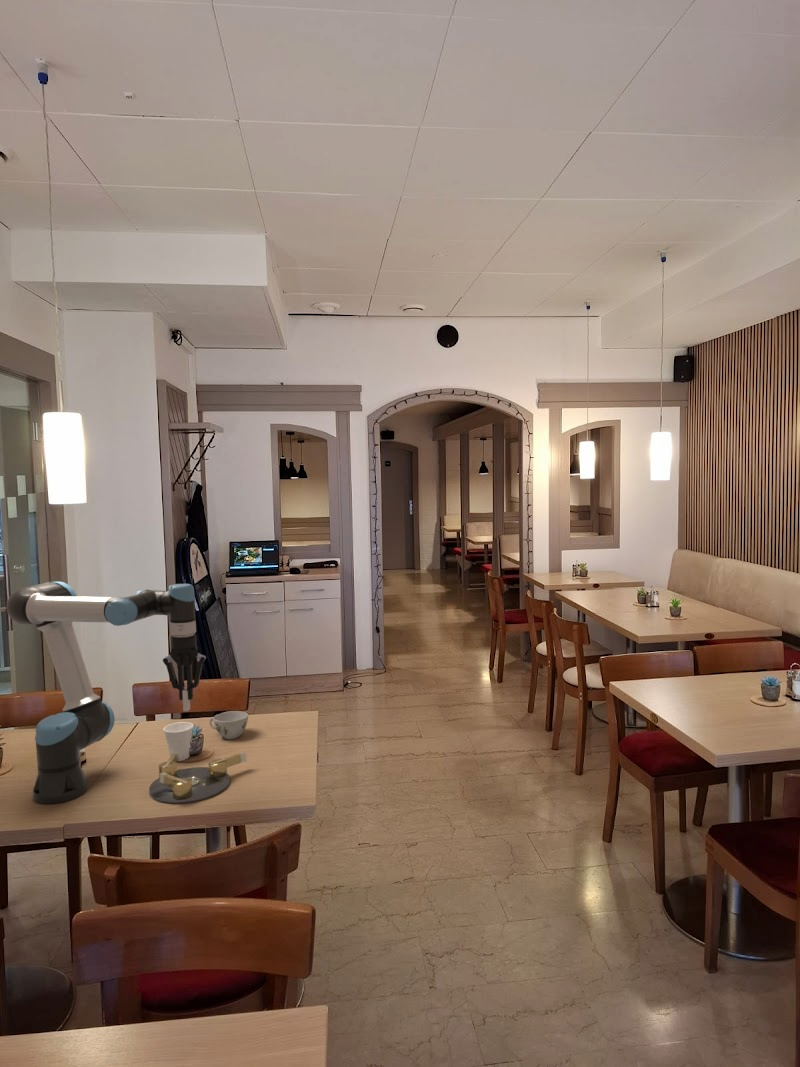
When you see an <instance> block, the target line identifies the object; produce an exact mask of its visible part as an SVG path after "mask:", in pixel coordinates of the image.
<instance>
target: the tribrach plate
mask: <svg viewBox="0 0 800 1067" xmlns="http://www.w3.org/2000/svg"><path fill="white" fill-rule="evenodd" d="M177 771H178V777H177V778H189V779H191V780H192V795H191V796H190V797H188V798H185V799H175V798H173V793H172V787H171V786H168V785H166V784H163V783H160V779H159V777H158V778H156V779H155V780H154V781H153V782H152V783H151V784H150V785H149V789H148V792H149V793H148V794H149V796H150V798H152V799H153V800H154V801H156V802H160V803H164V804H170V805H175V804H179V805H180V804H182V805H184V804H190V803H196V802H200V801H204V800H208V799H210V798H214V797H215V796H217V795H219V794H221V793H223V792H224V791H225V790H226V789H227V788H229V785H230V783H231V782H230V775H229V773H227V775H226V776H225V777H222V778H218V779H213V778H210V777H209V766H207V767H206V766H197V767H196V766H195V767H189V768H183V769H177Z"/></svg>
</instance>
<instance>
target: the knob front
mask: <svg viewBox="0 0 800 1067" xmlns="http://www.w3.org/2000/svg"><path fill="white" fill-rule="evenodd" d="M160 783H163V784H166V785H168V786H171V787H172V793H173V798H175V799H185V798H188V797H190V796H191V795H192V780H191V779H189V778H177V777H174V776H172V775H169V774H167V773H165V772H163V773H161V774H160Z"/></svg>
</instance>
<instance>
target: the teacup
mask: <svg viewBox="0 0 800 1067" xmlns="http://www.w3.org/2000/svg"><path fill="white" fill-rule="evenodd" d="M248 719H249V714H248V713H247V712H245V711H241V710H235V711H234V710H231V711H225V712H221V713H219V714H216V715H214V717H213V716H212V717H210V718H209V726H210V727H211V728H212V729H213V730H216V731H217V733H218V734H219V735H220V736H222V738H224V739H226V740H235V739H238V738H239V737H240V736H241V735H242V734H243V732H244V731H245V729H246V727H247V725H248V721H249V720H248ZM212 722H213V724H214V725H213V724H212Z"/></svg>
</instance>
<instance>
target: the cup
mask: <svg viewBox="0 0 800 1067" xmlns="http://www.w3.org/2000/svg"><path fill="white" fill-rule="evenodd" d="M193 729H194V724H193V723H192V722H188V721H178V722H173V723H170V724H166V726H164V727H163V729H162V730H163V732H164V736H165V740H166V745H167V748H168V749H167V750H168V752H169V758H170V757H171V755H172V754H173V752H176V751H179V760H178V761H177V762H182V761H186V760H187V759H188V758H189V757H190V754H189V748H190V749H191V745H190V741H191V742H192V738H193ZM185 759H186V760H185Z"/></svg>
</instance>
